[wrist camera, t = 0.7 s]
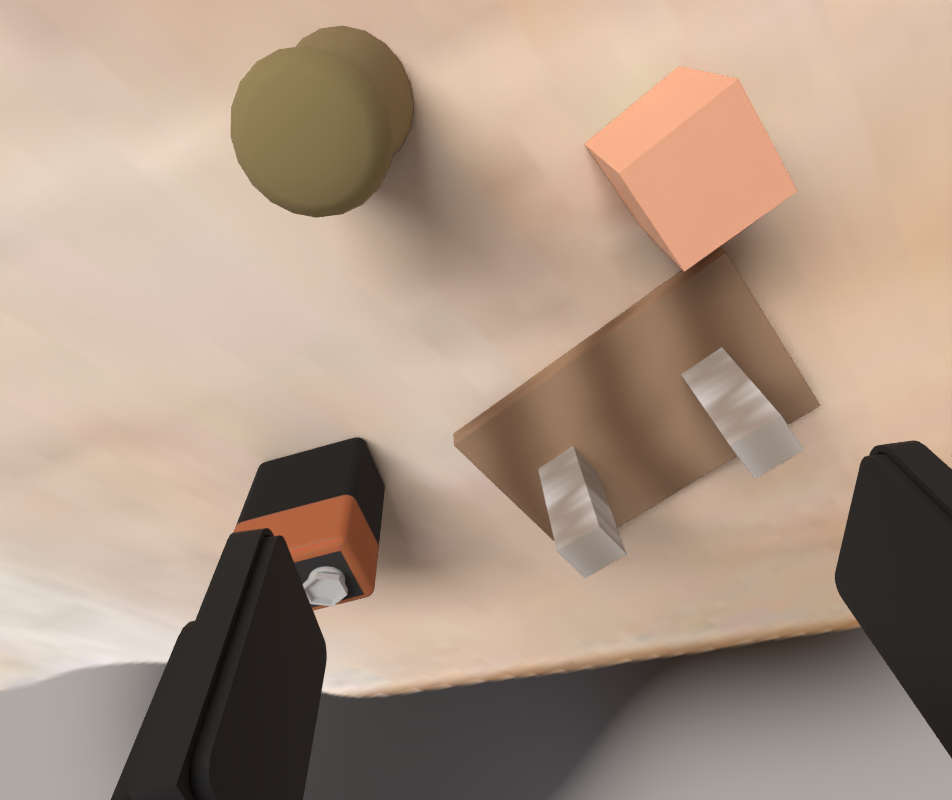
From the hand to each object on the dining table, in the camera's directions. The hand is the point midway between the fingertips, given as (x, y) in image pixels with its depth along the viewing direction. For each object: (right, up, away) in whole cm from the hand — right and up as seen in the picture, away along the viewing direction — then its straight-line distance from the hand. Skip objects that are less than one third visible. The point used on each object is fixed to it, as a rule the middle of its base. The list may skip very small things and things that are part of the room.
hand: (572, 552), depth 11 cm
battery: (-11, -2, +29) cm, 31 cm away
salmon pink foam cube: (+7, +15, +20) cm, 26 cm away
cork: (-7, +16, +19) cm, 26 cm away
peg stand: (+8, +2, +28) cm, 29 cm away
